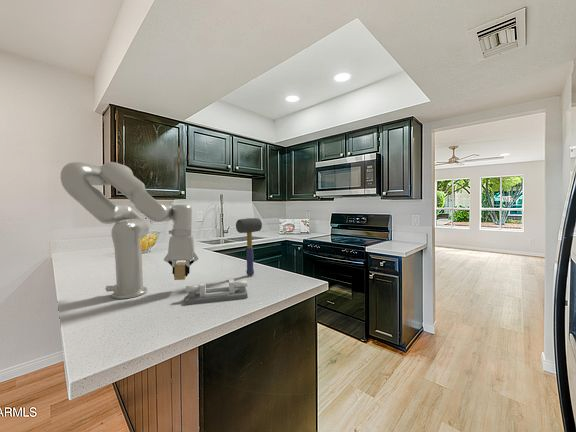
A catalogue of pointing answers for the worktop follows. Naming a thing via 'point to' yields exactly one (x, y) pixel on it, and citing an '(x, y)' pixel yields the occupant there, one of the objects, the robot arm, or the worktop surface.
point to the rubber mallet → (249, 238)
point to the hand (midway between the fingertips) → (181, 275)
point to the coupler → (180, 271)
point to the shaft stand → (216, 292)
